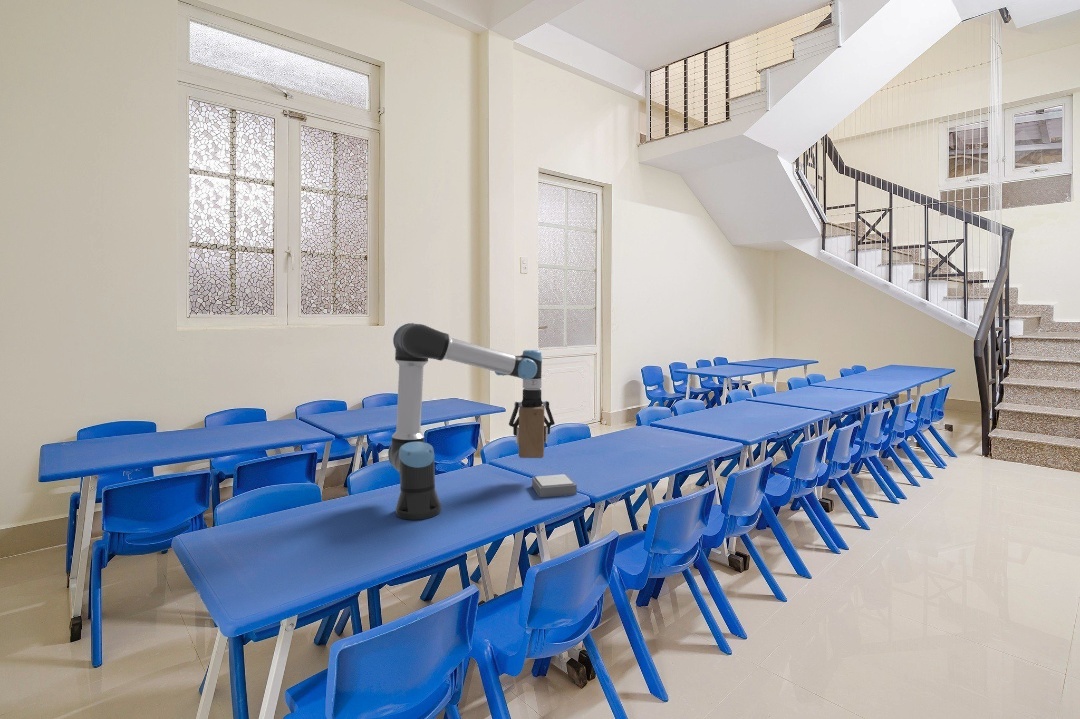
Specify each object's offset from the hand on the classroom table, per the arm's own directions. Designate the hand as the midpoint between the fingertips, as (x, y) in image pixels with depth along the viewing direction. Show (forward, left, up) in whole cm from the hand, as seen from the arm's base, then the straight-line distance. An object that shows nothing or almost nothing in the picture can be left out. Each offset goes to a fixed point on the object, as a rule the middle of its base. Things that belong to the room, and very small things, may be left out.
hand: (531, 442), depth 231 cm
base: (+5, -14, -16) cm, 22 cm away
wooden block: (0, 0, -5) cm, 5 cm away
